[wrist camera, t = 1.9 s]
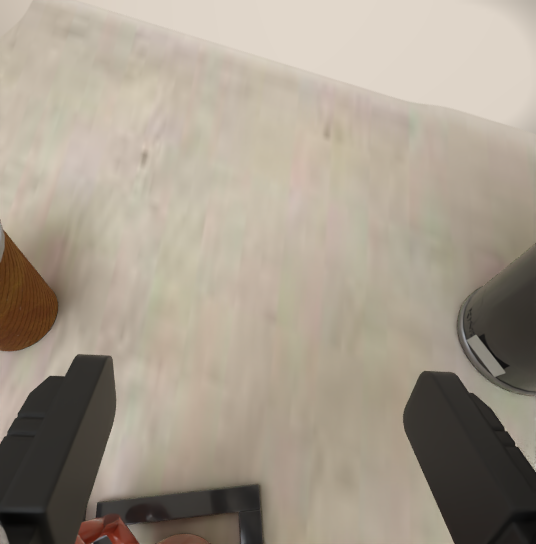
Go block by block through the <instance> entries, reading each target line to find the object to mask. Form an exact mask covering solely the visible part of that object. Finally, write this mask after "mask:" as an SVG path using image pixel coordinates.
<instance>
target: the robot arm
mask: <svg viewBox="0 0 536 544" xmlns="http://www.w3.org/2000/svg"><path fill="white" fill-rule="evenodd" d="M458 334H459V339H460V342H461V345H462V347H463V349H464V351H465V353H466V355H467V357H468V358H469V360H470V361H471V363H472V364H473V365H474V366H475V368H476V369H477V370H478V371H479V372H480V373H481V374H482V375H483V376H485V377H486V378H487V379H488V380H490V381H491V382H493V383H494V384H496V385H497V386H499V387H501V388H503V389H505V390H508V391H510V392H513V393H517V394H521V395H528V396H536V243H535V244H534V245H533V246H532V247H531V248H529V249H528V250H527V251H526V252H524V253H523V254H522V255H521V256H520V257H518V258H517V259H516V260H515V261H513V262H512V263H511V264H510V265H508V266H507V267H506V268H505V269H504V270H502V271H501V272H500V273H499V274H497V275H496V276H495V277H494V278H492V279H491V280H490V281H489V282H487V283H486V284H485V285H484V286H482V287H480V288H479V289H477V290H476V291H475V292H473V293H472V294H471V295H470V296H469V297H468V298H467V299H466V300H465V302H464V303H463V305H462V307H461V309H460V312H459V316H458ZM115 410H116V391H115V380H114V369H113V360H112V357H111V356H105V355H83V354H78V355H77V356H76V357H75V358H74V360H73V362H72V364H71V366H70V368H69V370H68V372H67V373H66V375H65V377H64V376H49V377H48V378H47V379H46V380H45V381H44V382H42V383H41V384H40V385H39V386H38V387H37V388H35V389H34V390H33V391H32V392H31V393H30V394H29V396H28V398H27V399H26V401H25V403H24V404H23V406H22V408H21V410H20V411H19V413H18V417H17V418H15V420H14V421H13V423H12V425H11V427H10V428H9V430H8V434H7V436H5V437H4V439H3V440H2V442H1V444H0V544H75V542H76V538H77V535H78V532H79V529H80V526H81V523H82V520H83V516H84V513H85V510H86V507H87V504H88V501H89V498H90V494H91V491H92V488H93V485H94V482H95V479H96V476H97V472H98V469H99V466H100V463H101V460H102V457H103V454H104V451H105V447H106V444H107V441H108V438H109V435H110V432H111V429H112V425H113V422H114V417H115ZM403 423H404V429H405V432H406V435H407V437H408V439H409V441H410V444H411V446H412V448H413V450H414V453H415V455H416V457H417V460H418V462H419V464H420V466H421V469H422V471H423V473H424V475H425V478H426V480H427V482H428V484H429V487H430V489H431V491H432V494H433V496H434V498H435V500H436V503H437V505H438V507H439V509H440V512H441V514H442V516H443V518H444V521H445V523H446V525H447V528H448V530H449V532H450V534H451V537H452V539H453V541H454V543H455V544H536V472H535V470H534V469H533V468H532V466H531V465H530V463H529V462H528V461H527V459H526V458H525V456H524V455H523V453H522V452H521V451H520V449H519V448H518V447H516V446H515V442H514V441H513V439H512V438H511V436H510V435H509V434H508V432H507V431H505V430H504V426H503V425H502V424H501V422H500V421H499V419H498V418H497V416H496V415H495V414H494V412H493V411H492V409H491V408H489V407H488V406H487V405H486V404H485V403H484V402H483V401H481V400H480V399H479V398H478V397H477V396H476V395H475V394H474V393H469V392H468V391H467V389H466V388H465V386H464V385H463V383H462V382H461V380H460V379H459V377H458V376H457V375H456V374H454V373H452V372H435V371H424V372H422V373H421V374H420V376H419V378H418V380H417V382H416V385H415V387H414V389H413V391H412V393H411V396H410V398H409V400H408V402H407V404H406V407H405V409H404V414H403Z"/></svg>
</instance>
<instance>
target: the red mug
mask: <svg viewBox="0 0 536 544" xmlns="http://www.w3.org/2000/svg"><path fill="white" fill-rule="evenodd" d="M106 536H107V537H108V538H109V540H110V541H111V543H112V544H140V543H139V542H138V541H137V539H136V538H135V537H134V535H133V534H132V532H131V531H130V530H129V528H128V527H127V526H126V524H125V523H124V521H123V520H122V519H121V517H120V516H119V515H118V514H116V513H110V514H107V515H104V516H101V517H97V518H94V519H91V520H88V521H85V522H82V523H81V526H80V529H79V532H78V535H77V538H76V542H75V544H91V543H93V542H95V541H98V540H100V539H102V538H104V537H106ZM156 544H210V543H209V542H208V541H207V540H205V539H203V538H202V537H199V536H197V535H193V534H177V535H172V536H170V537H167V538H165V539H164V540H162V541H160V542H158V543H156Z"/></svg>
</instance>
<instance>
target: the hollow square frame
mask: <svg viewBox="0 0 536 544" xmlns="http://www.w3.org/2000/svg"><path fill="white" fill-rule="evenodd" d="M233 512H239V528H240V544H264V542H263V529H262V516H261V503H260V491H259V484H252V485H243V486H235V487H226V488H217V489H208V490H199V491H191V492H182V493H173V494H164V495H155V496H147V497H138V498H129V499H120V500H112V501H103V502H98V503H97V511H96V518H97V517H101V516H104V515H107V514H110V513H116V514H118V515H119V516H120V517H121V519H122V520H123V521H124V523H125V524H126V525H131V524H139V523H148V522H156V521H165V520H173V519H182V518H190V517H199V516H208V515H216V514H225V513H233ZM94 544H112V543H111V541H110V540H109V538H108V537H107V536H106V537H104V538H102V539H100V540H98V541H95V542H94Z"/></svg>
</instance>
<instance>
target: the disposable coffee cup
mask: <svg viewBox="0 0 536 544" xmlns="http://www.w3.org/2000/svg"><path fill="white" fill-rule="evenodd" d="M57 311H58V302H57V298H56V295H55V294H54V292H53V291H52V289H51V288H50V287H49V286H48V285H47V283H46V282H45V281H44V280H43V278H42V277H41V276H40V275H39V274H38V272H37V271H36V270H35V268H34V267H33V266H32V265H31V263H30V262H29V261H28V260H27V258H26V257H25V256H24V255H23V253H22V252H21V251H20V250H19V248H18V247H17V246H16V245H15V243H14V242H13V241H12V240H11V238H10V237H9V236H8V235H7V233H6V232H5V231H4V230H3V228H2V224H1V220H0V350H1V351H17V350H21V349H24V348H26V347H29V346H31V345H32V344H34V343H36V342H37V341H38V340H40V339H41V338H42V337H43V336H44V335H45V334H46V333H47V332H48V331H49V330H50V328H51V327H52V325H53V323H54V321H55V318H56V316H57Z"/></svg>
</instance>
